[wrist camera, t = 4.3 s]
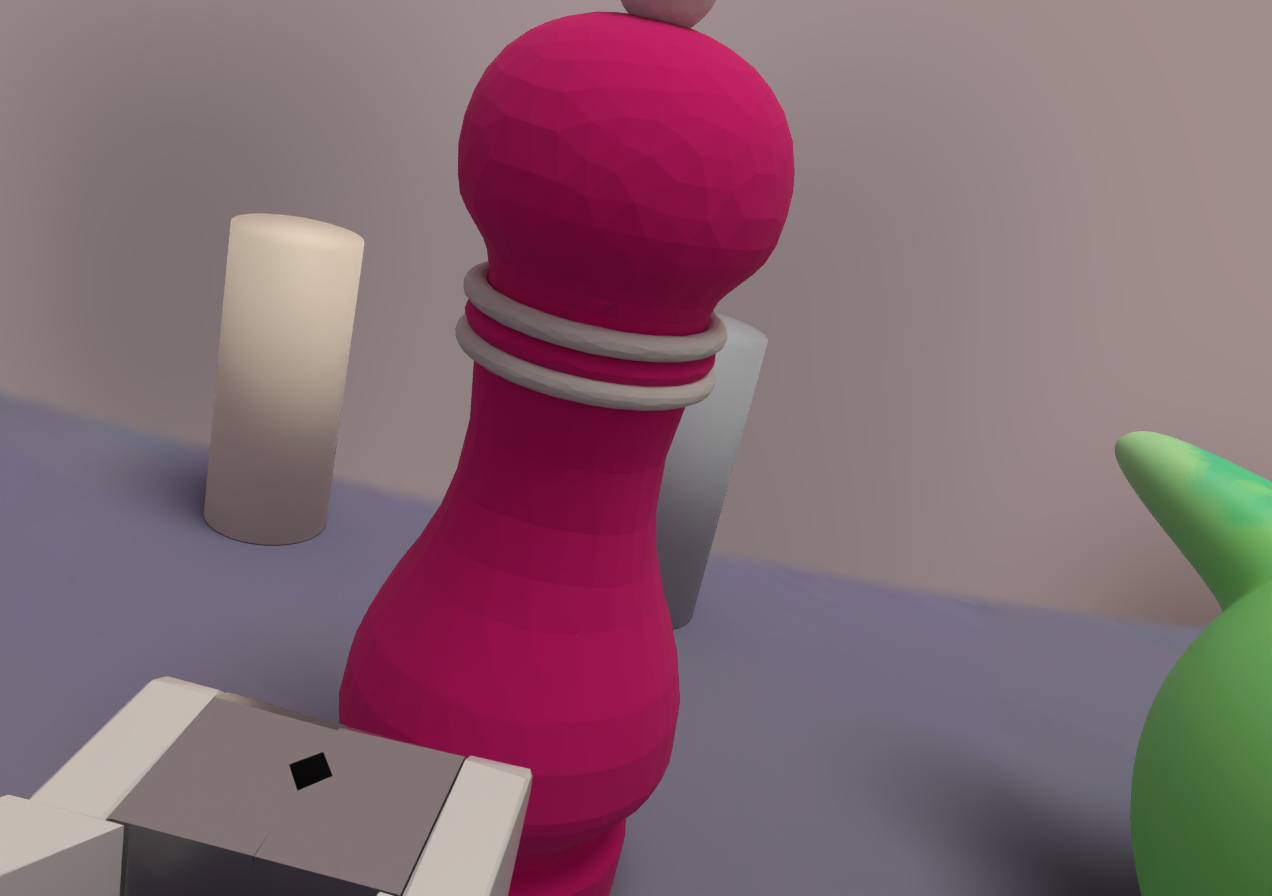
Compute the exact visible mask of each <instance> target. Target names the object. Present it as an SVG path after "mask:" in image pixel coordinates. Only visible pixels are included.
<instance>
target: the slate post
mask: <svg viewBox="0 0 1272 896" xmlns="http://www.w3.org/2000/svg"><path fill="white" fill-rule="evenodd" d="M715 314H716V313H715ZM716 315H717V316H718V317H719V318H720V319H721V320H722V321H723V322H724V324H725V326H726V329H727V337H728V338H727V341H726V343H725V345H724V347H723V348H722V349H721V350H720V351H719V352H717V353H716V357H715V364H714V367H713V370H714V373H715V377H716V384H715V386H714V389H713V391H712V392H711V393H710V395H709V396H708V397H706V398H705V399H704V400H702V401H701V402H699V403H696V404H693V405H690V406H687V407H685V410H684V412H683V415H682V417H681V420H680V423H679V425H678V428H677V431H676V433H675V436H674V438H673V441H672V444H671V446H670V449H669V452H668V454H667V457H666V461H665V467H664V472H663V477H662V483H661V488H660V494H659V499H658V504H657V510H656V549H657V555H658V561H659V568H660V574H661V580H662V586H663V592H664V596H665V599H666V603H667V607H668V610H669V614H670V619H671V624H672V629H676V628H679V627H681V626H683V625H685V624H687V623H688V622H689V621H690V619H691V618H692V614H693V611H694V607H695V604H696V600H697V596H698V593H699V589H700V586H701V582H702V578H703V575H704V571H705V567H706V564H707V560H708V557H709V553H710V549H711V546H712V542H713V539H714V535H715V531H716V528H717V524H718V520H719V517H720V513H721V509H722V506H723V502H724V498H725V495H726V491H727V488H728V484H729V480H730V477H731V473H732V470H733V466H734V462H735V459H736V455H737V451H738V448H739V444H740V441H741V437H742V433H743V430H744V426H745V423H746V419H747V416H748V412H749V408H750V405H751V401H752V397H753V394H754V390H755V386H756V383H757V379H758V375H759V372H760V368H761V365H762V361H763V358H764V354H765V350H766V346H767V343H768V339H767V337H766V336H765V335H764V334H763V333H761V332H760V331H758V330H757V329H755V328H753V327H751V326H749V325H747V324H745V323H742V322H740V321H738V320H735V319H732V318H729V317H726V316H723V315H720V314H716Z"/></svg>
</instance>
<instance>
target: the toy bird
mask: <svg viewBox="0 0 1272 896" xmlns="http://www.w3.org/2000/svg"><path fill="white" fill-rule="evenodd" d="M1115 455H1116V459H1117V461H1118V464H1119V466H1120V468H1121V470H1122V472H1123V473H1124V475H1125V477H1126V479H1127V480H1128V482H1129V483H1130V485H1131V486H1132V488H1133V489H1134V490H1135V492H1136V494H1137V495H1138V496H1139V498H1140V499H1141V500H1142V502H1143V503H1144V505H1145V506H1146V507H1147V509H1148V510H1149V511H1150V513H1151V514H1152V515H1153V516H1154V518H1155V519H1156V520H1157V522H1158V523H1159V524H1160V526H1161V527H1162V528H1163V529H1164V531H1165V532H1166V533H1167V534H1168V536H1169V537H1170V538H1171V539H1172V541H1173V542H1174V543H1175V544H1176V546H1177V547H1178V548H1179V549H1180V551H1181V552H1182V553H1183V555H1184V556H1185V557H1186V558H1187V560H1188V561H1189V562H1190V563H1191V565H1192V566H1193V567H1194V568H1195V570H1196V571H1197V572H1198V574H1199V575H1200V576H1201V578H1202V579H1203V580H1204V582H1205V583H1206V584H1207V586H1208V587H1209V589H1210V590H1211V591H1212V593H1213V594H1214V596H1215V597H1216V599H1217V601H1218V603H1219V605H1220V606H1221V609H1222V614H1220V615H1219V616H1218V617H1217V618H1216V619H1215V620H1214V621H1213V622H1212V623H1210V624H1209V625H1208V626H1207V627H1206V628H1205V629H1204V630H1203V631H1202V632H1201V633H1200V635H1199V636H1198V637H1197V638H1196V639H1195V640H1194V641H1193V642H1192V643H1191V645H1190V646H1189V647H1188V648H1187V649H1186V651H1185V652H1184V653H1183V654H1182V656H1181V657H1180V658H1179V660H1178V661H1177V663H1176V664H1175V665H1174V667H1173V668H1172V670H1171V671H1170V673H1169V674H1168V676H1167V678H1166V679H1165V681H1164V683H1163V684H1162V686H1161V688H1160V690H1159V692H1158V694H1157V696H1156V698H1155V700H1154V702H1153V704H1152V706H1151V708H1150V711H1149V713H1148V716H1147V718H1146V721H1145V724H1144V727H1143V730H1142V733H1141V737H1140V740H1139V744H1138V748H1137V753H1136V758H1135V763H1134V769H1133V777H1132V787H1131V836H1132V847H1133V855H1134V862H1135V868H1136V874H1137V879H1138V884H1139V888H1140V893H1141V896H1272V482H1270V481H1268V480H1266V479H1264V478H1262V477H1260V476H1258V475H1256V474H1254V473H1252V472H1250V471H1248V470H1246V469H1244V468H1242V467H1240V466H1238V465H1236V464H1234V463H1232V462H1229V461H1227V460H1225V459H1223V458H1221V457H1219V456H1217V455H1215V454H1212V453H1210V452H1208V451H1205V450H1203V449H1201V448H1198V447H1196V446H1194V445H1191V444H1189V443H1186V442H1184V441H1181V440H1178V439H1176V438H1173V437H1169V436H1166V435H1163V434H1159V433H1154V432H1148V431H1137V432H1132V433H1129V434H1126V435H1124V436H1123V437H1121V438H1120V439H1119V440H1118V441H1117V443H1116V445H1115Z"/></svg>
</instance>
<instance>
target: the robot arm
mask: <svg viewBox="0 0 1272 896" xmlns="http://www.w3.org/2000/svg"><path fill="white" fill-rule="evenodd" d="M532 777H533V776H532V773H531V770H530V769H528V768H524V767H519V766H515V765H510V764H506V763H501V762H497V761H493V760H488V759H484V758H479V757H475V756H470V757H465V756H461V755H457V754H453V753H449V752H445V751H441V750H437V749H433V748H429V747H425V746H421V745H417V744H413V743H409V742H405V741H401V740H397V739H393V738H389V737H386V736H382V735H378V734H374V733H370V732H366V731H362V730H358V729H354V728H350V727H347V726H346V725H343V724H339V723H336V722H332V721H329V720H325V719H322V718H318V717H314V716H311V715H307V714H304V713H300V712H297V711H293V710H290V709H286V708H283V707H279V706H275V705H272V704H268V703H265V702H261V701H258V700H254V699H251V698H247V697H243V696H240V695H236V694H233V693H229V692H227V693H223V692H222V691H220V690H217V689H213V688H209V687H206V686H202V685H198V684H194V683H191V682H187V681H183V680H179V679H175V678H172V677H168V676H166V677H162V678H158V679H154V680H152V681H150V682H149V683H147V684H146V685H145V686H144V687H143V688H142V689H141V690H140V691H139V692H138V693H137V694H136V695H135V696H134V697H133V698H132V699H131V700H130V701H129V702H128V703H127V704H126V705H125V706H124V707H123V708H122V709H121V710H120V711H119V712H118V713H117V714H115V715H114V716H113V717H112V718H111V719H110V720H109V721H108V722H107V723H106V724H105V725H104V726H103V727H102V728H101V729H100V730H99V731H98V732H97V733H96V734H95V735H94V736H93V737H92V738H91V739H90V740H89V741H88V742H87V743H86V744H85V745H84V746H83V747H82V748H81V749H79V750H78V751H77V752H76V753H75V754H74V755H73V756H72V757H71V758H70V759H69V760H68V761H67V762H66V763H65V764H64V765H63V766H62V767H61V768H60V769H59V770H58V771H57V772H56V773H55V774H54V775H53V776H52V777H51V778H50V779H49V780H48V781H47V782H46V783H45V784H43V785H42V786H41V787H40V788H39V789H38V790H37V791H36V792H35V793H34V794H33V795H32V796H31V797H30V798H29V799H28V800H27V799H23V798H19V797H15V796H11V795H6V796H3V797H0V896H508V892H509V888H510V883H511V879H512V874H513V870H514V865H515V860H516V856H517V851H518V847H519V842H520V837H521V833H522V828H523V824H524V819H525V815H526V810H527V805H528V801H529V796H530V792H531V785H532Z"/></svg>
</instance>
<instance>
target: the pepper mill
mask: <svg viewBox="0 0 1272 896" xmlns="http://www.w3.org/2000/svg"><path fill="white" fill-rule="evenodd" d="M621 1H622V4H623V6H624V8H625V9H626V11H627V12H628V13H629V14H627V13H618V12H591V13H585V14H578V15H571V16H566V17H562V18H560V19H556V20H552V21H549V22H546V23H544V24H542V25H539V26H537V27H535V28H533V29H530V30H529V31H527V32H526V33H525V34H523V35H522V36H520V37H519V38H517V39H516V40H514V41H513V42H512V43H510V44H509V45H507V46H506V47H505V48H504V49H503V50H502V52H501V53H500V54H499V55H498V56H497V57H496V58H495V59H494V61H493V62H492V63H491V64H490V65H489V66H488V67H487V68H486V70H485V72H484V74H483V75H482V77H481V79H480V81H479V83H478V84H477V86H476V88H475V90H474V92H473V95H472V98H471V100H470V102H469V105H468V107H467V110H466V112H465V115H464V120H463V125H462V129H461V134H460V138H459V144H458V145H459V148H458V178H459V188H460V194H461V196H462V199H463V201H464V203H465V205H466V208H467V210H468V212H469V213H470V215H471V217H472V219H473V220H474V222H475V224H476V225H477V227H478V229H479V231H480V233H481V235H482V236H483V238H484V241H485V244H486V248H487V253H488V261H487V262H484V263H481V264H479V265H476V266H474V267H473V268H472V269H470V270H469V271H468V273H467V274H466V276H465V278H464V291H465V294H466V296H467V297H468V298H469V299H468V301H467V304H466V306H465V314H464V315H463V316H462V317H461V318H460V319H459V321H458V323H457V326H456V328H455V330H456V338H457V341H458V343H459V345H460V346H461V348H462V349H463V351H464V352H465V353H466V354H467V355H468V356H469V357H470V358H471V359H473V360H474V369H473V383H472V398H471V413H470V421H469V425H468V429H467V433H466V436H465V440H464V444H463V448H462V452H461V456H460V460H459V463H458V467H457V470H456V472H455V475H454V477H453V479H452V481H451V484H450V486H449V488H448V490H447V493H446V495H445V497H444V499H443V501H442V504H441V505H440V507H439V508H438V510H437V511H436V513H435V514H434V516H433V517H432V519H431V520H430V522H429V523H428V525H427V526H426V528H425V529H424V531H423V532H422V534H421V535H420V537H419V538H418V539H417V540H416V542H415V543H414V544H413V545H412V546H411V548H410V549H409V550H408V551H407V553H406V554H405V555H404V556H403V557H402V559H401V560H400V561H399V563H398V564H397V565H396V567H395V568H394V570H393V571H392V573H391V574H390V576H389V577H388V578H387V580H386V581H385V583H384V584H383V586H382V587H381V589H380V590H379V592H378V594H377V595H376V597H375V599H374V600H373V602H372V604H371V605H370V607H369V609H368V611H367V612H366V614H365V616H364V618H363V620H362V622H361V624H360V626H359V628H358V629H357V631H356V634H355V637H354V640H353V643H352V646H351V649H350V653H349V657H348V661H347V665H346V669H345V672H344V676H343V680H342V684H341V688H340V692H339V718H340V724H343V725H346V726H347V727H350V728H354V729H358V730H362V731H366V732H370V733H374V734H378V735H382V736H386V737H389V738H393V739H397V740H401V741H405V742H409V743H413V744H417V745H421V746H425V747H429V748H433V749H437V750H441V751H445V752H449V753H453V754H457V755H461V756H465V757H470V756H475V757H479V758H484V759H488V760H493V761H497V762H501V763H506V764H510V765H515V766H519V767H524V768H528V769H530V770H531V773H532V776H533V777H532V785H531V792H530V796H529V801H528V805H527V810H526V815H525V819H524V824H523V828H522V833H521V837H520V842H519V847H518V851H517V856H516V860H515V865H514V870H513V874H512V879H511V883H510V888H509V892H508V896H609V893H610V890H611V887H612V883H613V879H614V875H615V872H616V868H617V864H618V860H619V856H620V853H621V849H622V845H623V841H624V837H625V825H626V818H627V817H628V816H630V815H631V814H632V813H634V812H635V811H636V810H638V809H639V808H640V806H641V805H642V804H643V803H644V802H645V801H646V800H647V799H648V798H649V797H650V795H651V794H652V792H653V791H654V790H655V788H656V787H657V785H658V784H659V782H660V781H661V779H662V777H663V775H664V773H665V770H666V768H667V766H668V764H669V761H670V756H671V752H672V747H673V741H674V735H675V729H676V723H677V716H678V710H679V704H680V691H679V676H678V660H677V649H676V644H675V639H674V634H673V629H672V624H671V619H670V614H669V610H668V607H667V603H666V599H665V596H664V592H663V586H662V580H661V574H660V568H659V561H658V555H657V549H656V510H657V504H658V499H659V494H660V488H661V483H662V477H663V472H664V467H665V461H666V457H667V454H668V452H669V449H670V446H671V444H672V441H673V438H674V436H675V433H676V431H677V428H678V425H679V423H680V420H681V417H682V415H683V412H684V410H685V407H687V406H690V405H693V404H696V403H699V402H701V401H702V400H704V399H705V398H706V397H708V396H709V395H710V393H711V392H712V391H713V389H714V386H715V384H716V377H715V373H714V370H713V367H714V364H715V357H716V353H717V352H719V351H720V350H721V349H722V348H723V347H724V345H725V343H726V341H727V338H728V337H727V329H726V326H725V324H724V322H723V321H722V320H721V319H720V318H719V317H718V316H717V315H716V314H715V313H714V312H713V310H714V308H715V306H716V305H717V303H718V302H719V301H720V300H721V299H722V298H723V297H724V296H725V295H727V294H728V293H729V292H730V291H732V290H733V289H734V288H736V287H737V286H738V285H740V284H741V283H742V282H744V281H745V280H746V279H748V278H749V277H750V276H752V275H753V274H754V273H755V272H756V271H757V270H758V269H759V268H760V267H761V266H763V265H764V264H765V262H766V261H767V259H768V258H769V256H770V255H771V253H772V251H773V250H774V248H775V247H776V245H777V242H778V240H779V237H780V234H781V232H782V229H783V226H784V223H785V221H786V218H787V215H788V211H789V206H790V202H791V198H792V194H793V186H794V157H793V141H792V138H791V134H790V131H789V127H788V124H787V121H786V117H785V114H784V111H783V109H782V108H781V106H780V104H779V102H778V100H777V99H776V97H775V95H774V93H773V92H772V90H771V88H770V87H769V85H768V84H767V83H766V82H765V80H764V79H763V78H762V77H761V76H760V74H759V73H758V72H757V71H756V69H755V68H753V67H752V66H751V65H750V64H749V63H747V62H746V61H745V60H744V59H743V58H741V57H740V56H739V55H737V54H736V53H735V52H734V51H732V50H731V49H729V48H728V47H726V46H724V45H723V44H721V43H719V42H718V41H716V40H714V39H713V38H711V37H709V36H707V35H704V34H702V33H699V32H697V31H695V30H693V29H691V27H693V26H694V25H695V24H697V23H698V22H699V21H700V20H701V19H702V18H704V17H705V15H706V14H707V13H708V12H709V11H710V10H711V8H712V7H713V5H714V3H715V1H716V0H621Z"/></svg>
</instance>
